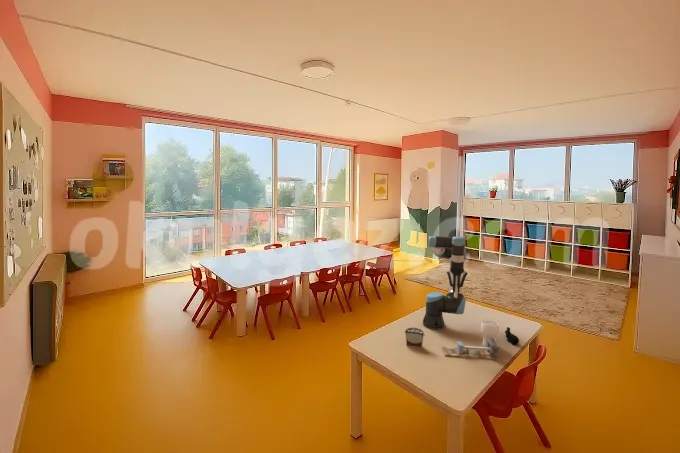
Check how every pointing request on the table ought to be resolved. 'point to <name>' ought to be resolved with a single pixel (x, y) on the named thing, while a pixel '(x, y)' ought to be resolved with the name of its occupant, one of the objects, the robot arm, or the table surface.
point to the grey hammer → (469, 348)
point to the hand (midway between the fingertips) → (455, 296)
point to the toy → (511, 337)
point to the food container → (414, 337)
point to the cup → (489, 330)
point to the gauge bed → (475, 351)
